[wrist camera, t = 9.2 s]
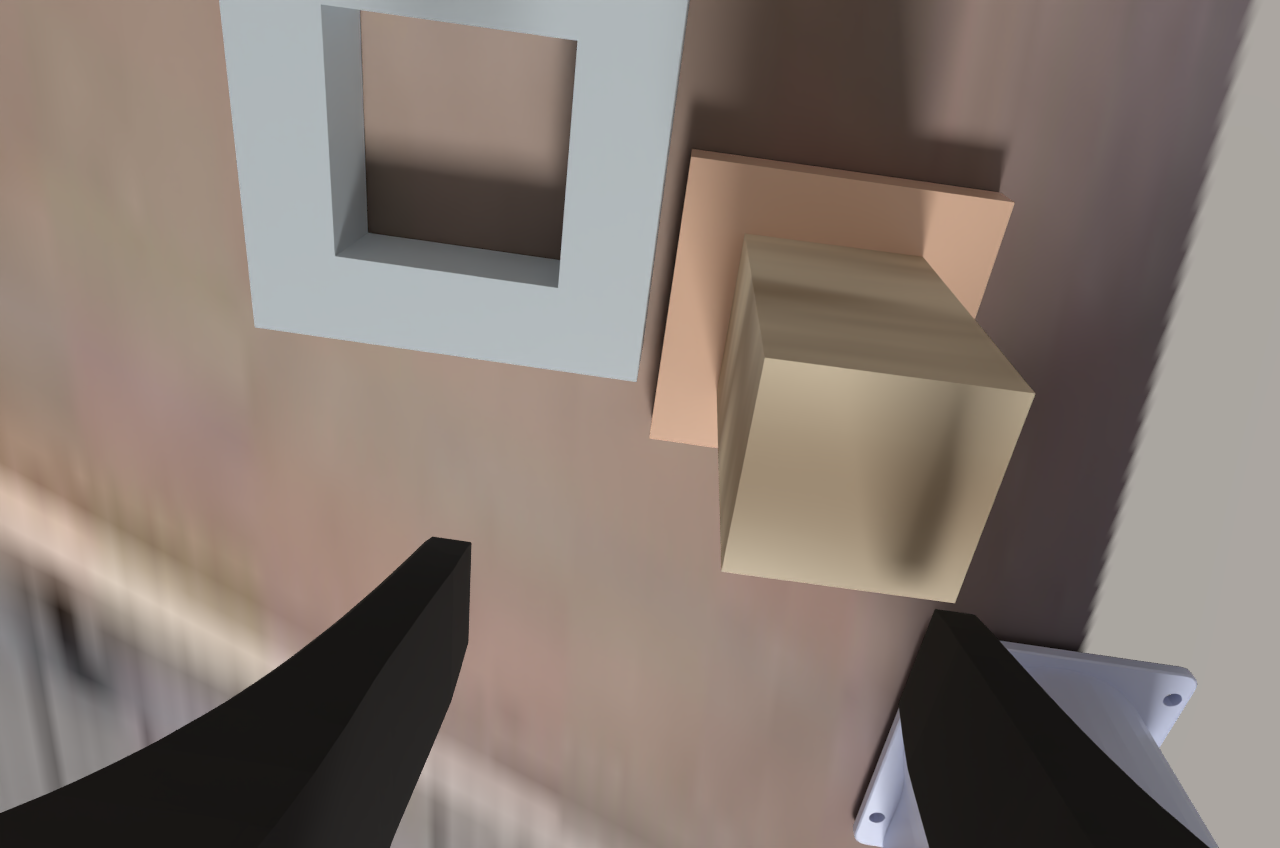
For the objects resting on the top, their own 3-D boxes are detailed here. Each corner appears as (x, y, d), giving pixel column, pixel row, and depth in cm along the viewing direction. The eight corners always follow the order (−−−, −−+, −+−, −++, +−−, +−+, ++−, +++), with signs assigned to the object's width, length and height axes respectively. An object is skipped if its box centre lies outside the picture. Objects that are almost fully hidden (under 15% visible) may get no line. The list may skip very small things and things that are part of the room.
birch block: (877, 415, 20) (954, 603, 14) (716, 393, 20) (721, 571, 14) (923, 256, 18) (1035, 394, 12) (744, 233, 18) (764, 357, 12)
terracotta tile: (911, 457, 22) (920, 477, 21) (651, 420, 22) (649, 438, 21) (999, 192, 18) (1014, 202, 17) (691, 149, 18) (691, 156, 17)
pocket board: (642, 348, 21) (636, 381, 19) (293, 298, 21) (254, 327, 19) (697, -60, 16) (697, -66, 15) (258, -121, 16) (204, -135, 15)
